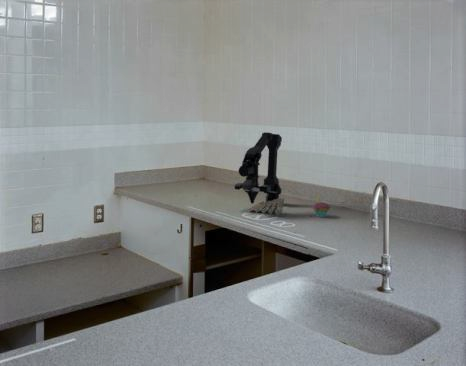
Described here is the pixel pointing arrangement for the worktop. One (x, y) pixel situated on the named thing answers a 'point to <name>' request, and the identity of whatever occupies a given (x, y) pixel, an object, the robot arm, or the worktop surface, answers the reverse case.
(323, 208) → the cupcake
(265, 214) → the mat
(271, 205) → the domino
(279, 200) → the domino
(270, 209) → the domino
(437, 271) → the worktop surface
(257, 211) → the domino
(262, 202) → the domino
